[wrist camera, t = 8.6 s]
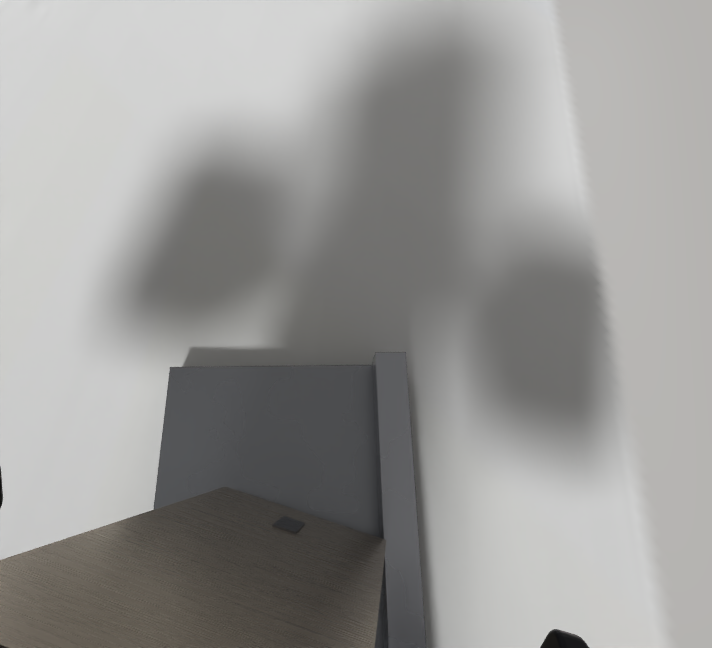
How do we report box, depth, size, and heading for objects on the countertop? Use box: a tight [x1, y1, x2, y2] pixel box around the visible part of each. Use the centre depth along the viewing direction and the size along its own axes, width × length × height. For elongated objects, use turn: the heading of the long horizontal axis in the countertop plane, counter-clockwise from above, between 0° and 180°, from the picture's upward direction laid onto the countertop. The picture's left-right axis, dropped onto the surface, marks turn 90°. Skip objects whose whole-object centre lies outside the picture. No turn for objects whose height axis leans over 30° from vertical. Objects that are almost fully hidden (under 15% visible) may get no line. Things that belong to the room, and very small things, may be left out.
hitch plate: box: [154, 352, 426, 648], centre depth 14 cm, size 14×8×2 cm, turn 2°
